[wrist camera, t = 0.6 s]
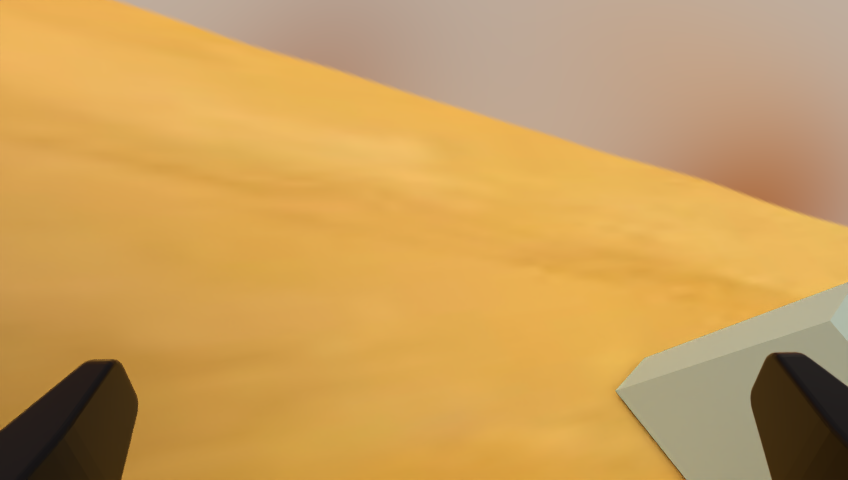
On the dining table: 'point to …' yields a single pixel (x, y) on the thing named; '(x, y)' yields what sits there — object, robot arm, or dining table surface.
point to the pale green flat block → (731, 385)
